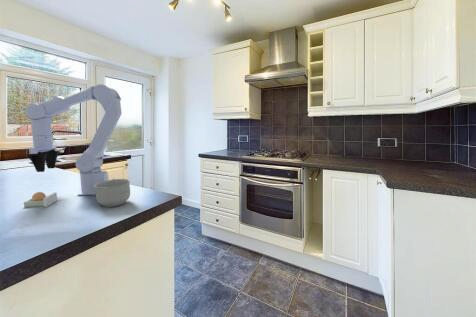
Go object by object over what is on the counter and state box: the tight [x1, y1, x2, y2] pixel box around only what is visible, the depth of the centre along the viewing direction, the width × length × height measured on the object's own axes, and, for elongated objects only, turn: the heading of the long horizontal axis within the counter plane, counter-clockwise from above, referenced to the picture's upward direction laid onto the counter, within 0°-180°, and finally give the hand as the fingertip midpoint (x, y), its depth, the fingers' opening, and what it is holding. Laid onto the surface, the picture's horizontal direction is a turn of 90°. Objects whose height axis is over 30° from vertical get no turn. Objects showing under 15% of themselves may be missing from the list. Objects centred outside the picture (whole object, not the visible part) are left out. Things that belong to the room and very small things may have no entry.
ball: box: [31, 191, 47, 201], centre depth 76 cm, size 4×4×4 cm
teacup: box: [94, 178, 131, 208], centre depth 78 cm, size 14×11×8 cm
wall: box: [43, 192, 58, 208], centre depth 77 cm, size 1×7×3 cm, turn 17°
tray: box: [23, 195, 48, 208], centre depth 77 cm, size 6×6×2 cm
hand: (46, 169), depth 86 cm, fingers open, 7 cm apart
